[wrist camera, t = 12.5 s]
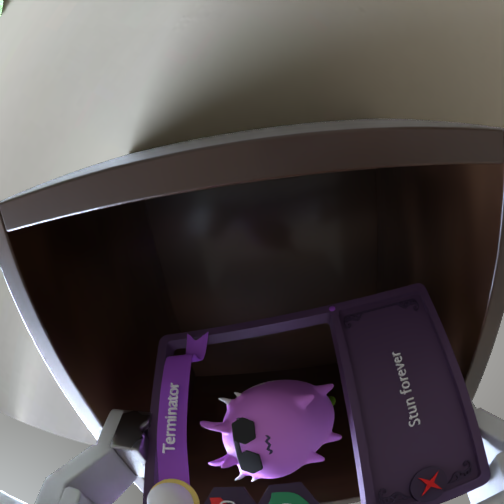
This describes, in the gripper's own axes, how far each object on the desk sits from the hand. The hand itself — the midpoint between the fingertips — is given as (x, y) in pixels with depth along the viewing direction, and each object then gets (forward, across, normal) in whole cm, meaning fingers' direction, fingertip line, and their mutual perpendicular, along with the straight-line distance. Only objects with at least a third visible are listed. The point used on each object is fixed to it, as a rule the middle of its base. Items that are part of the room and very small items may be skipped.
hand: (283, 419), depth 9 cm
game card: (+3, -1, 0) cm, 3 cm away
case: (+10, 0, 0) cm, 11 cm away
